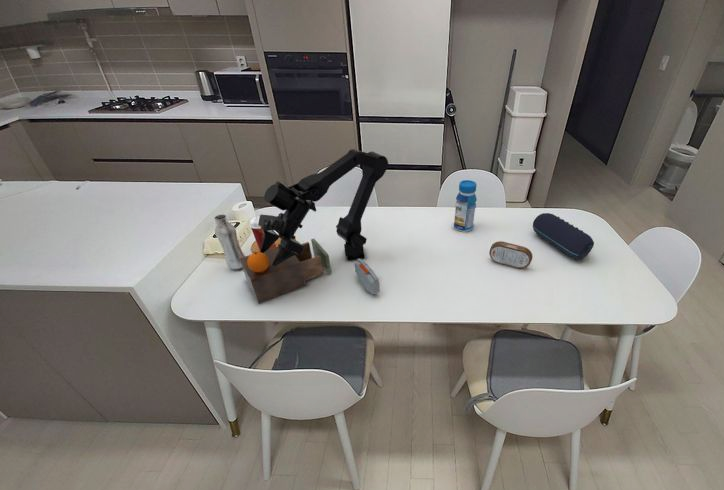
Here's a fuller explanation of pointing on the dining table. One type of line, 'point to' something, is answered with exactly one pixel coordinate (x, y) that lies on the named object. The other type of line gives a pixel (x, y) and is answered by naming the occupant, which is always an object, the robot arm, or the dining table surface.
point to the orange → (258, 262)
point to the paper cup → (258, 232)
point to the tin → (510, 254)
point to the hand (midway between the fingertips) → (267, 259)
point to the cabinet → (274, 277)
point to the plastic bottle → (228, 241)
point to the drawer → (314, 260)
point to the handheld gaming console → (367, 276)
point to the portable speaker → (563, 235)
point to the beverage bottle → (465, 206)
